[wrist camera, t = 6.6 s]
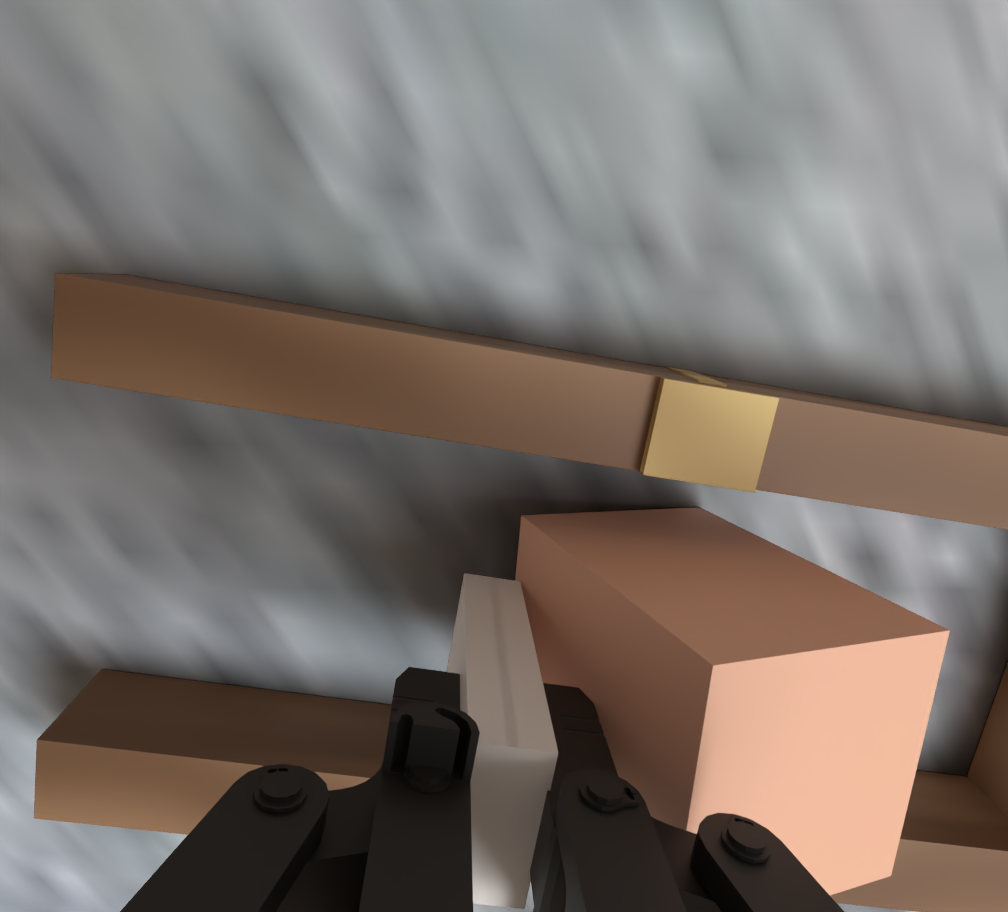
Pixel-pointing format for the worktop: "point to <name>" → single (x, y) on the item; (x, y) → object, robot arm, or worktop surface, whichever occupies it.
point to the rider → (737, 678)
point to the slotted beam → (509, 426)
